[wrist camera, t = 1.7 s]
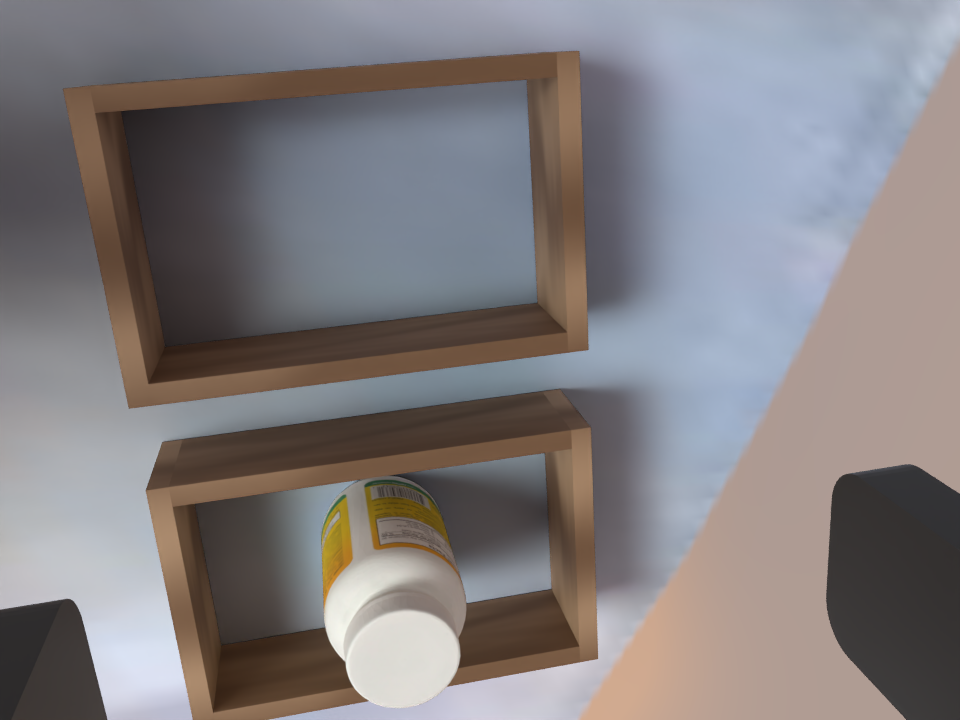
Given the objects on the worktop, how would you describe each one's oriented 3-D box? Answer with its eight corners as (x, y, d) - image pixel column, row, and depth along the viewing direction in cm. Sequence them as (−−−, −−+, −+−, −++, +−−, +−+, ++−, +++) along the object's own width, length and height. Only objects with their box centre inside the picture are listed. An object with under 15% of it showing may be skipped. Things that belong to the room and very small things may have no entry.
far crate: (162, 442, 37) (145, 490, 33) (559, 389, 40) (591, 427, 36) (205, 663, 41) (195, 732, 37) (568, 601, 43) (598, 658, 39)
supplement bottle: (409, 451, 40) (443, 565, 31) (460, 546, 41) (506, 680, 33) (297, 507, 39) (298, 638, 30) (353, 600, 41) (370, 749, 32)
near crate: (92, 85, 33) (62, 88, 29) (545, 52, 35) (579, 50, 31) (147, 368, 36) (129, 408, 32) (556, 318, 39) (588, 350, 35)
